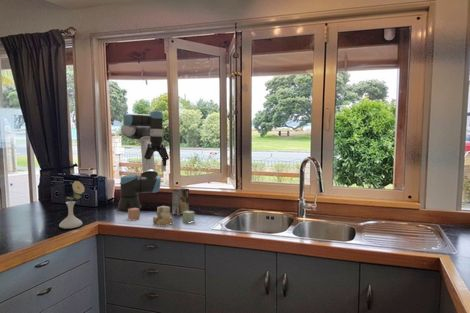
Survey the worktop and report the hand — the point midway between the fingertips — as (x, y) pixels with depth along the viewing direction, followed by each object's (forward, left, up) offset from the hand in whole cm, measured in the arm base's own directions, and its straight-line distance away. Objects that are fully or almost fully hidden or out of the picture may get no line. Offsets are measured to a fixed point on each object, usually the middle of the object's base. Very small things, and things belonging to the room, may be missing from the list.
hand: (156, 170), depth 199 cm
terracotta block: (-6, -12, -29) cm, 32 cm away
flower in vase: (-16, -44, -29) cm, 55 cm away
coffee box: (+6, +15, -29) cm, 33 cm away
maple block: (+16, -8, -25) cm, 31 cm away
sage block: (+24, +4, -29) cm, 38 cm away
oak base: (+16, -8, -29) cm, 34 cm away
